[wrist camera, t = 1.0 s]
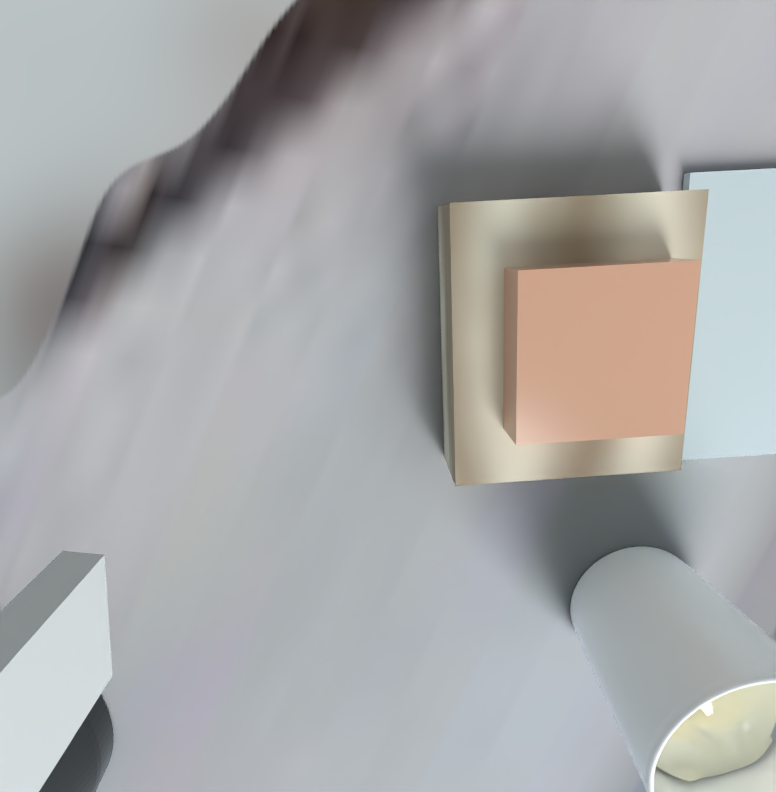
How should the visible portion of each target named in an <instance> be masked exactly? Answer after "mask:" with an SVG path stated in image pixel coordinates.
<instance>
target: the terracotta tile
mask: <svg viewBox="0 0 776 792" xmlns="http://www.w3.org/2000/svg"><path fill="white" fill-rule="evenodd" d="M700 264H701V260H693V259H679V258H661V259H643V260H626V261H608V262H591V263H573V264H556V265H538V266H521V267H504V390H503V429H504V430H505V431H506V433H507V434H508V435H509V437H510V438H511V439H512V441H513V442H514V443H515V445H528V444H543V443H558V442H573V441H587V440H602V439H617V438H632V437H646V436H661V435H676V434H684V426H685V416H686V406H687V396H688V386H689V375H690V365H691V355H692V345H693V335H694V325H695V315H696V305H697V295H698V284H699V274H700Z"/></svg>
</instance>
